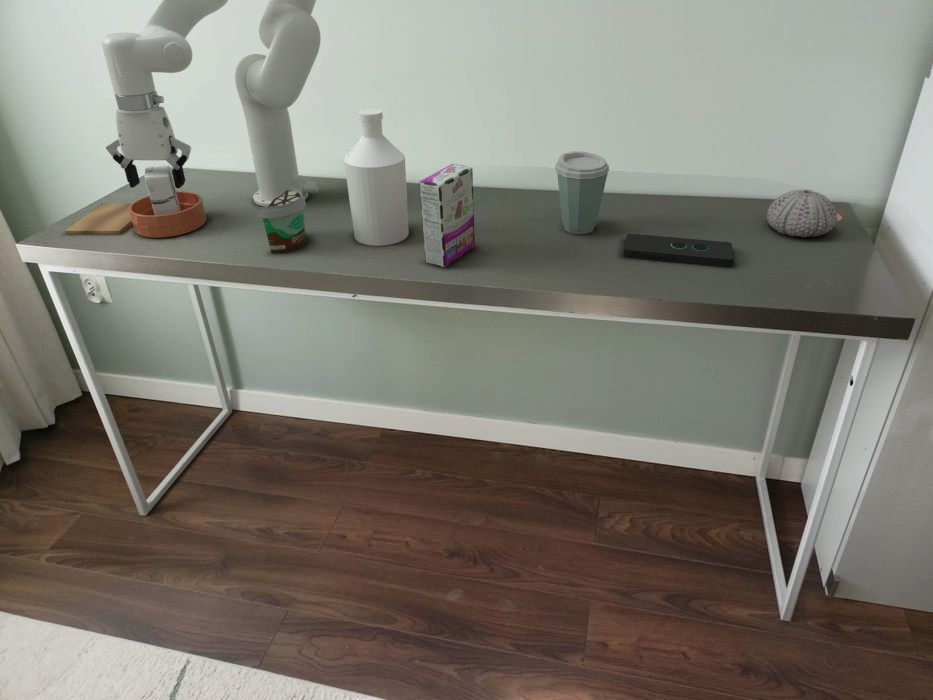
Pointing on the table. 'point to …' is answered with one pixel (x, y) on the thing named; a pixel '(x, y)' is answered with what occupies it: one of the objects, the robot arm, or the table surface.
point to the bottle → (376, 185)
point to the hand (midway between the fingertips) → (157, 185)
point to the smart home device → (678, 250)
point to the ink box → (161, 190)
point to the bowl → (168, 216)
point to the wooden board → (103, 220)
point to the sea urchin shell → (802, 214)
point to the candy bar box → (447, 214)
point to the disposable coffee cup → (581, 189)
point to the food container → (285, 221)
